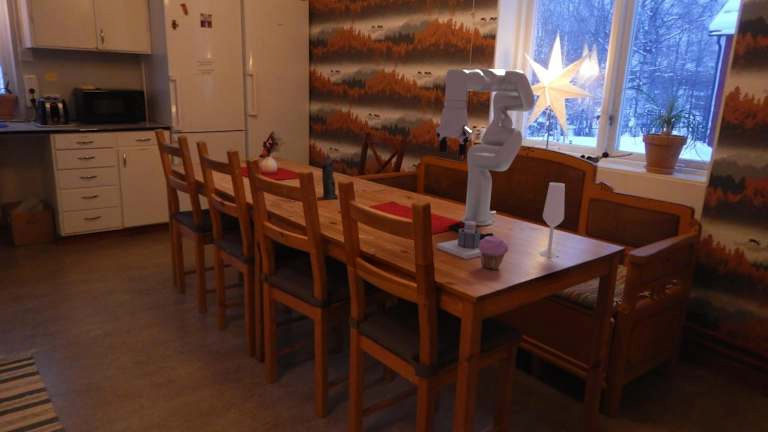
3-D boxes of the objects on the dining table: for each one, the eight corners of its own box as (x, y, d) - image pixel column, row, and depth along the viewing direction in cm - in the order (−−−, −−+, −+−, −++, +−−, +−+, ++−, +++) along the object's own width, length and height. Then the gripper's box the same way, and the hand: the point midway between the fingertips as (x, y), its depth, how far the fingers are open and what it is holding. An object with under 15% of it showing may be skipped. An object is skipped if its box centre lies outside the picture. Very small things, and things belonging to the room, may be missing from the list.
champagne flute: (534, 253, 180) (542, 183, 174) (546, 250, 184) (554, 181, 178) (551, 258, 175) (559, 186, 169) (563, 255, 179) (572, 184, 173)
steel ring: (468, 241, 186) (469, 227, 185) (483, 246, 180) (485, 232, 179) (453, 244, 181) (454, 230, 180) (468, 249, 176) (469, 235, 175)
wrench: (458, 232, 211) (506, 248, 184) (447, 233, 209) (493, 250, 182) (458, 219, 210) (506, 233, 183) (447, 220, 208) (493, 235, 181)
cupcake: (472, 268, 163) (474, 236, 161) (483, 261, 170) (486, 230, 168) (499, 274, 158) (502, 242, 156) (510, 267, 165) (513, 235, 163)
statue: (339, 198, 253) (340, 156, 248) (328, 200, 248) (328, 157, 243) (330, 196, 258) (330, 154, 253) (318, 198, 253) (318, 155, 248)
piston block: (469, 241, 191) (471, 215, 189) (499, 251, 181) (502, 224, 178) (436, 247, 182) (438, 220, 180) (466, 259, 171) (468, 230, 169)
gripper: (430, 103, 194) (428, 151, 199) (466, 106, 181) (462, 157, 186) (445, 103, 199) (443, 149, 203) (480, 106, 186) (477, 155, 190)
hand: (452, 153), depth 194 cm, fingers open, 9 cm apart
